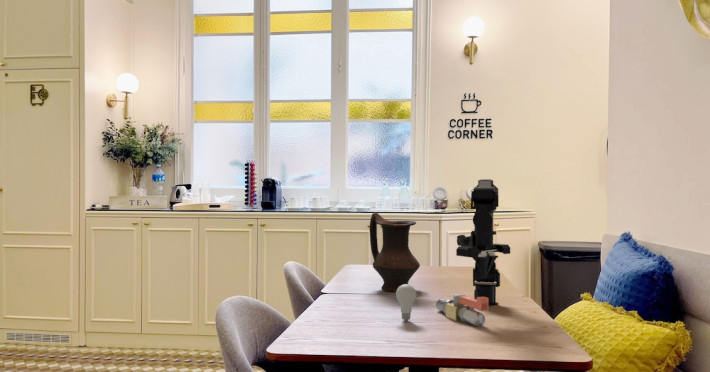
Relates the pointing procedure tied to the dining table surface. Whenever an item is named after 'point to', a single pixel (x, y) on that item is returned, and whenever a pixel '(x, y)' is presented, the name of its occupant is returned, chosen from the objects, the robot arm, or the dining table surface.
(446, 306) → the valve
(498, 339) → the dining table surface
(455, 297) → the lever
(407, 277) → the jug
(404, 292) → the lightbulb
